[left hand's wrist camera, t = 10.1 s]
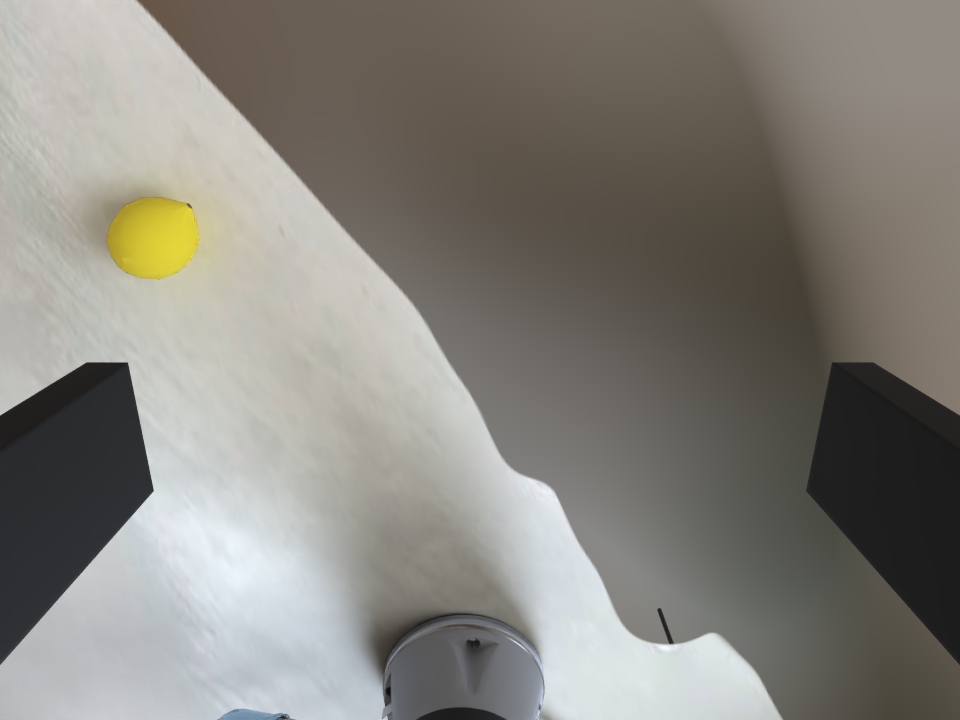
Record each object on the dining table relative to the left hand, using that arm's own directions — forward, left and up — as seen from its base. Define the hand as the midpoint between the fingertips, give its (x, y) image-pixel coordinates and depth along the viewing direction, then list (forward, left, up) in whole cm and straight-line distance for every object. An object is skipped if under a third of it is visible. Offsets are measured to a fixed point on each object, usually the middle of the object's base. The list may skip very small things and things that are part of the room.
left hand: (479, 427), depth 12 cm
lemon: (+12, +19, -37) cm, 44 cm away
